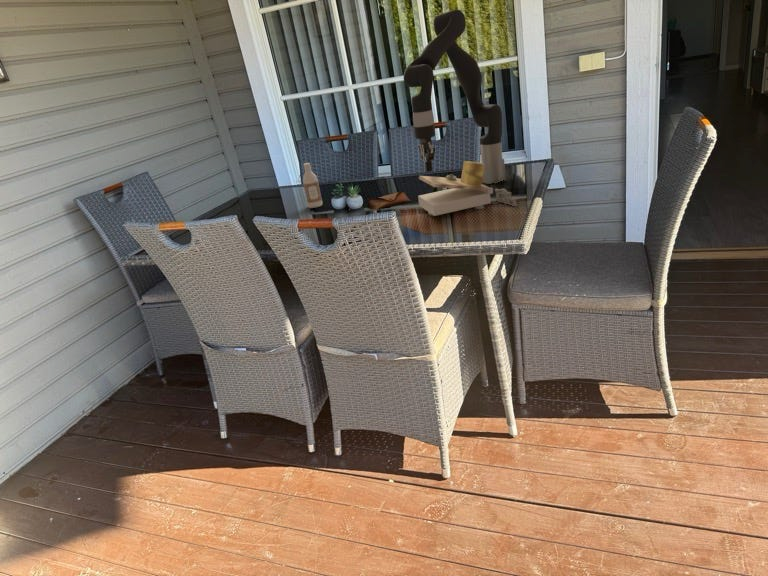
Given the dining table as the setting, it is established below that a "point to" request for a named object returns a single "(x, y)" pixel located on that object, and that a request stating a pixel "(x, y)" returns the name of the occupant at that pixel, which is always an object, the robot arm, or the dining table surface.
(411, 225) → the dining table surface
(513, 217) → the dining table surface
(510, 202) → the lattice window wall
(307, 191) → the tan bottle
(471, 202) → the base
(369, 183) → the dining table surface
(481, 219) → the dining table surface
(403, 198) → the sunglasses case
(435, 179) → the instrument plate
